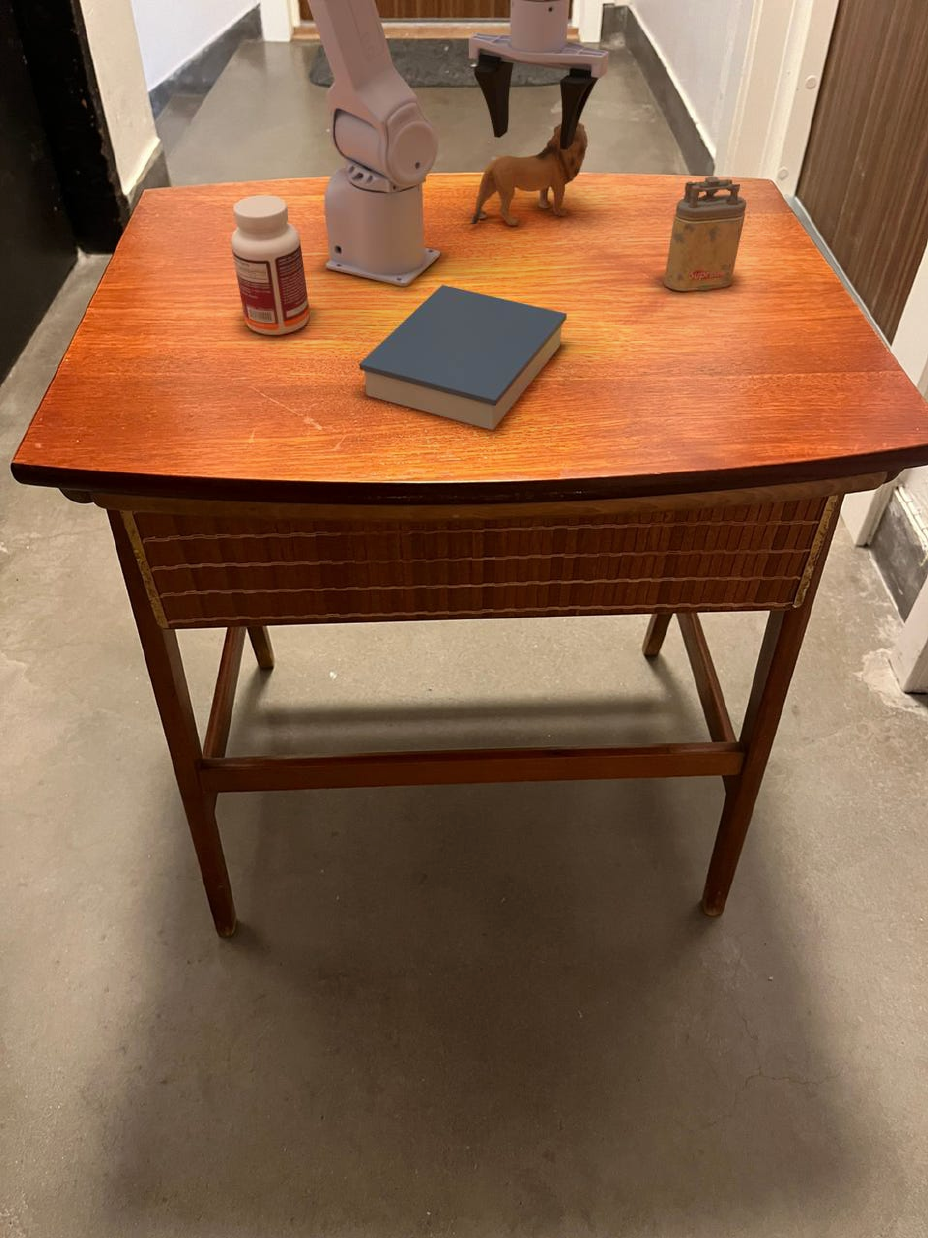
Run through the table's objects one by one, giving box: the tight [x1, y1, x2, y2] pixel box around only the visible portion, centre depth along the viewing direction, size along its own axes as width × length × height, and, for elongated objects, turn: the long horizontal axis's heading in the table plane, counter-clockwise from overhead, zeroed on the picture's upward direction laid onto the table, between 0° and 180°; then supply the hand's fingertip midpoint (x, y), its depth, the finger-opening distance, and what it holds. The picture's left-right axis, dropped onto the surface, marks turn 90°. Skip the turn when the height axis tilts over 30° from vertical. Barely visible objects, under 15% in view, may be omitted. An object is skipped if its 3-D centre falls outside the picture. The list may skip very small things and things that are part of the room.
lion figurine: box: [470, 122, 589, 227], centre depth 107 cm, size 15×5×9 cm, turn 122°
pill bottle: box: [230, 194, 311, 336], centre depth 90 cm, size 6×6×11 cm
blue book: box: [358, 284, 568, 431], centre depth 86 cm, size 13×16×3 cm
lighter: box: [662, 176, 747, 292], centre depth 96 cm, size 7×4×10 cm, turn 102°
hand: (533, 140), depth 105 cm, fingers open, 7 cm apart
